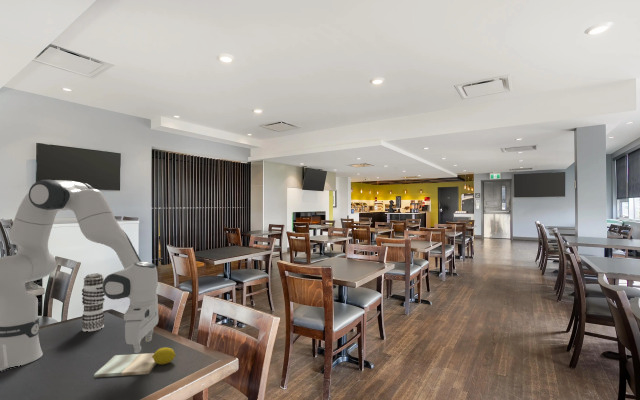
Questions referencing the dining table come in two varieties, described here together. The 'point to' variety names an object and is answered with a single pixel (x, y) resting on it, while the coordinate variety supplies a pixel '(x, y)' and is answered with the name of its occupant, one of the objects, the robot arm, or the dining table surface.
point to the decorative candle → (93, 302)
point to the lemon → (164, 355)
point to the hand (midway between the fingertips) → (143, 346)
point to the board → (127, 365)
